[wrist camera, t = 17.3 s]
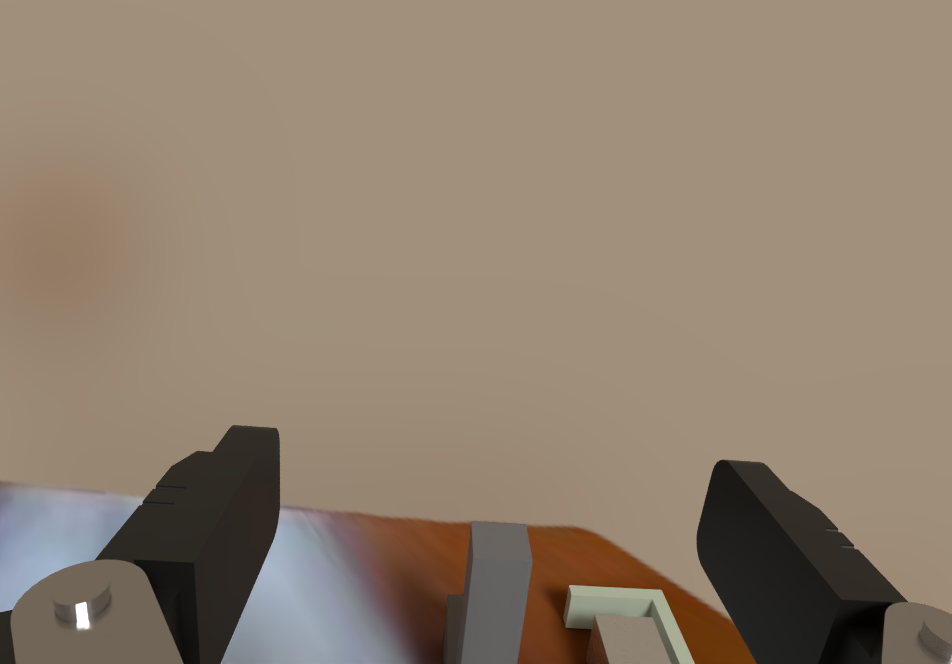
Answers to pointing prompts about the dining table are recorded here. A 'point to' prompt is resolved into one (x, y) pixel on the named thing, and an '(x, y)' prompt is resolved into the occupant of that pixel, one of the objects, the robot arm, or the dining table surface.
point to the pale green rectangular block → (626, 613)
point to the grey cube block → (625, 641)
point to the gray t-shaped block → (490, 597)
